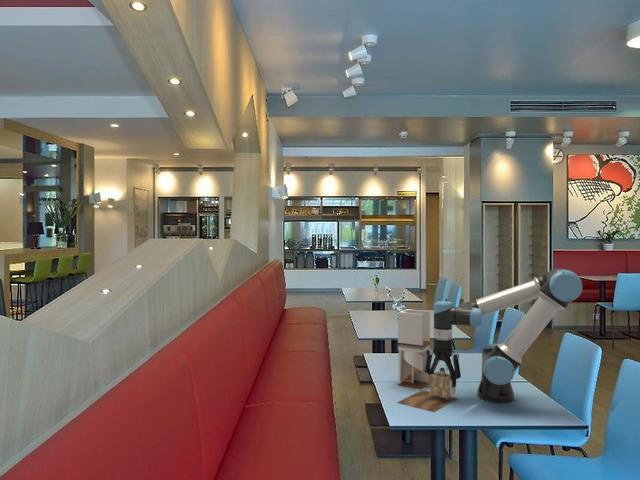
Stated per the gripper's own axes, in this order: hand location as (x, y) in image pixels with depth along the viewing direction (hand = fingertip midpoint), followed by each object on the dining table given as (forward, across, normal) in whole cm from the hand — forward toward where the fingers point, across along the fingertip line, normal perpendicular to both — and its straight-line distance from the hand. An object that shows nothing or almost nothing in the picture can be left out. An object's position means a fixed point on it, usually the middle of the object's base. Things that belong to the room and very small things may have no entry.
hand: (442, 392), depth 218 cm
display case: (+4, -19, +10) cm, 22 cm away
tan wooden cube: (+1, 0, 0) cm, 1 cm away
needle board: (+4, -4, -6) cm, 8 cm away
